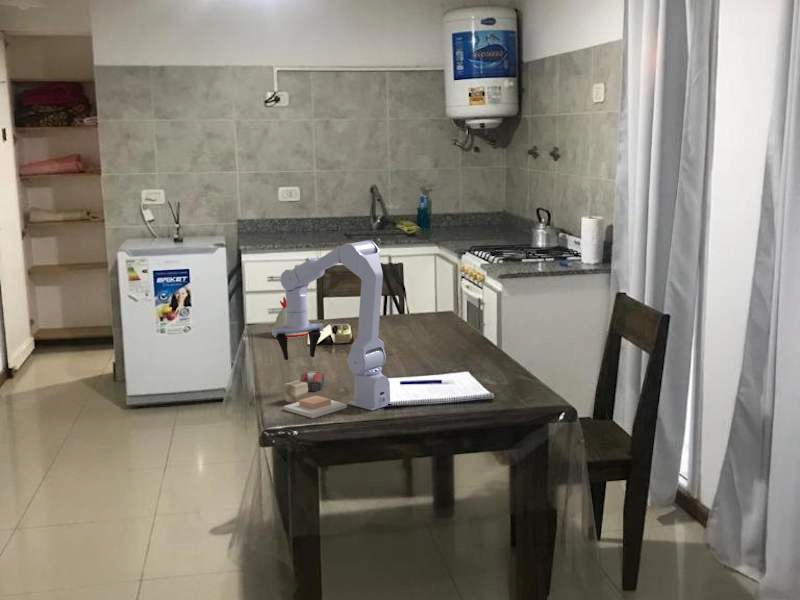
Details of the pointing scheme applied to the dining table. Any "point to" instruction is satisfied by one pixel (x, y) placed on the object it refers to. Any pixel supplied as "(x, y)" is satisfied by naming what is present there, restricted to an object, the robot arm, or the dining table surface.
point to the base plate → (315, 412)
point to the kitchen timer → (282, 320)
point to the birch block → (296, 391)
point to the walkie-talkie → (313, 380)
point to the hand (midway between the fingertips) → (299, 357)
